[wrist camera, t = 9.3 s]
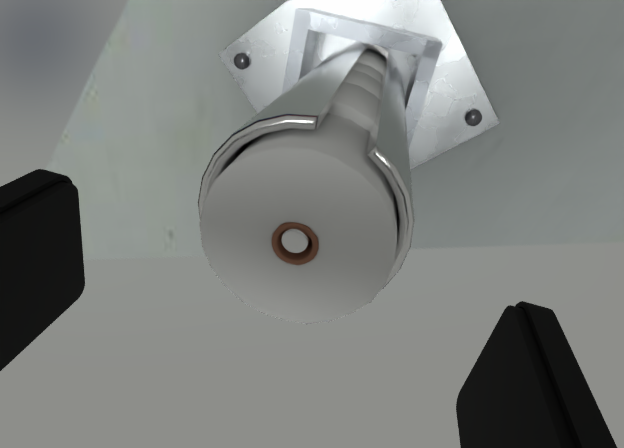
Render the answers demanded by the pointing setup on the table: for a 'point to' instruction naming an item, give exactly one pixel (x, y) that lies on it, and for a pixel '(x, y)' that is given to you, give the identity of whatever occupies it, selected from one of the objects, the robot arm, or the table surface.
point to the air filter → (314, 192)
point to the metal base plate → (382, 32)
